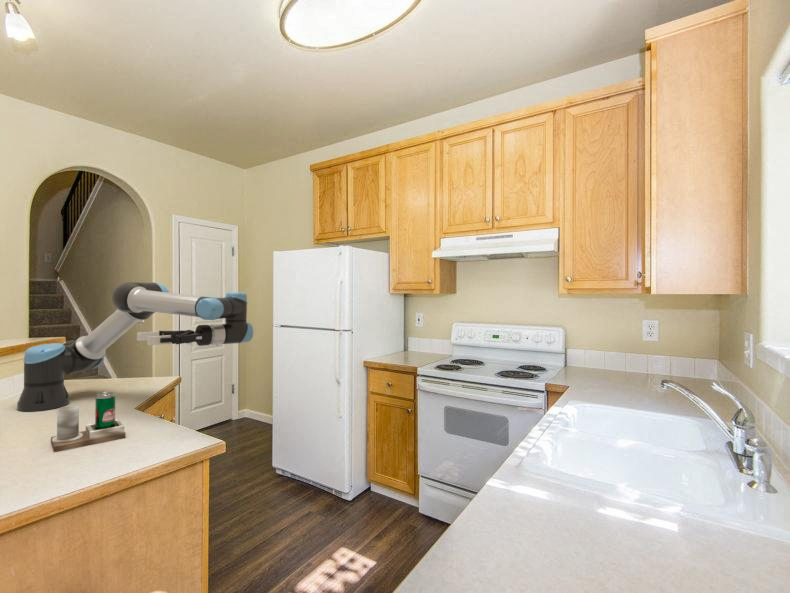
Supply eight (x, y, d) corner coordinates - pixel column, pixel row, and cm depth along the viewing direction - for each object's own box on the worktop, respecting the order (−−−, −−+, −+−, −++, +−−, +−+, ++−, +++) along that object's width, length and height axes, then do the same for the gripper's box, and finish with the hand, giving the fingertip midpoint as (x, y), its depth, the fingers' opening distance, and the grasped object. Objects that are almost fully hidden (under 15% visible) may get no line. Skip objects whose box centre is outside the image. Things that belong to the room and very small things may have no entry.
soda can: (104, 435, 122) (105, 396, 122) (90, 433, 124) (91, 394, 123) (118, 429, 127) (119, 392, 127) (105, 428, 128) (106, 390, 128)
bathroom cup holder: (118, 429, 132) (119, 397, 132) (125, 437, 125) (126, 404, 125) (50, 441, 120) (51, 406, 120) (53, 452, 113) (54, 414, 113)
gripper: (222, 349, 138) (152, 355, 123) (197, 341, 156) (133, 345, 141) (223, 327, 138) (152, 330, 123) (197, 322, 156) (133, 324, 141)
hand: (142, 338), depth 132 cm, fingers open, 13 cm apart
